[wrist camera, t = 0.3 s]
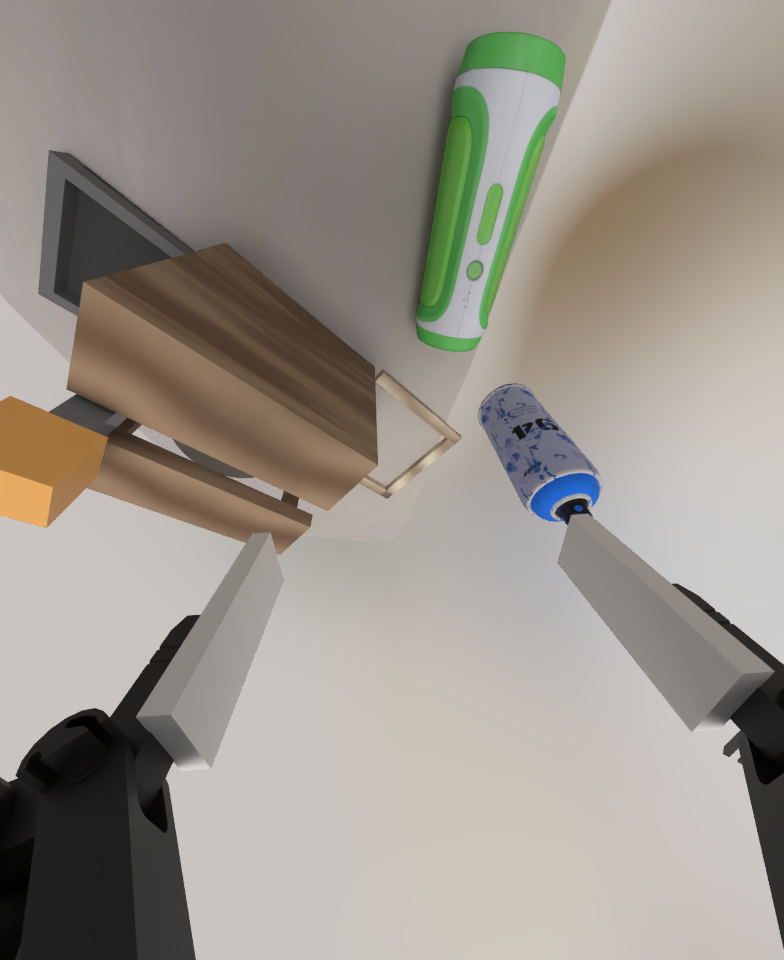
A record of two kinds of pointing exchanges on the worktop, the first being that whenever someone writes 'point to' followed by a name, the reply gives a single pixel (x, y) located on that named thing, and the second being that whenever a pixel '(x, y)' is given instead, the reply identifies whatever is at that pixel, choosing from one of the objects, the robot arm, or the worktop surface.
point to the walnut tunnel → (222, 394)
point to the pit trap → (93, 232)
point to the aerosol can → (538, 455)
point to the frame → (428, 417)
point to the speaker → (485, 180)
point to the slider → (50, 455)
